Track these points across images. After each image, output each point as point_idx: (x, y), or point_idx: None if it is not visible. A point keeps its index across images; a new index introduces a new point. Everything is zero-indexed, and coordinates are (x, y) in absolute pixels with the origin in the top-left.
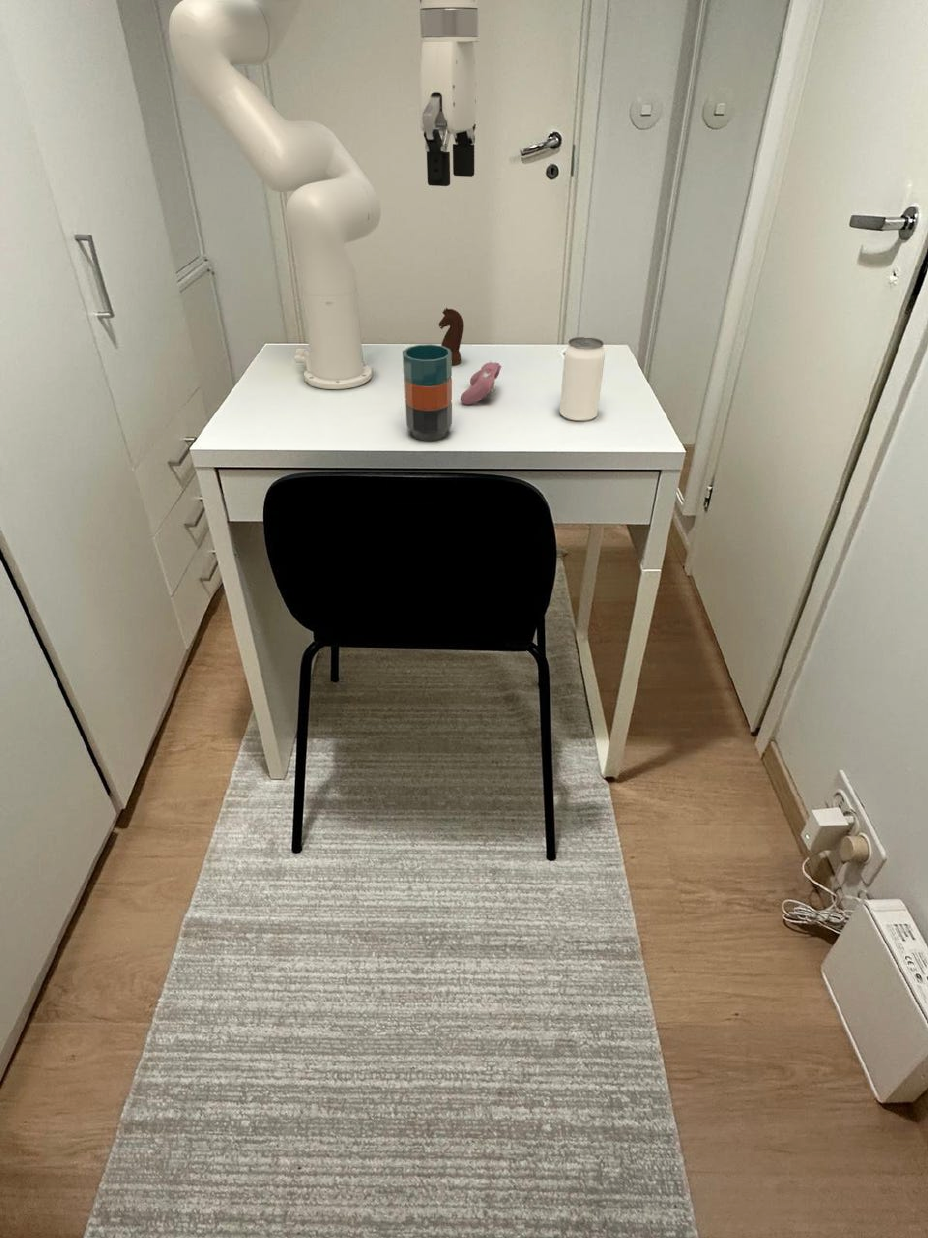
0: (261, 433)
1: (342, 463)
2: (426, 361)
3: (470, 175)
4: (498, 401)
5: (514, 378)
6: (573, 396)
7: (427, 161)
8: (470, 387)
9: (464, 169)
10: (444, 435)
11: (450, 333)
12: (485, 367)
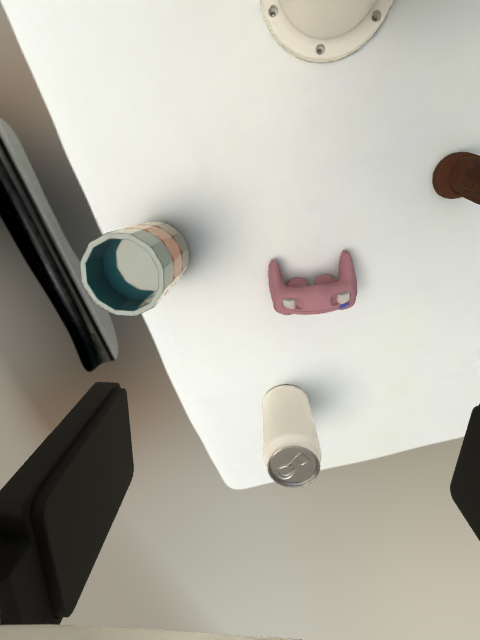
0: None
1: (35, 175)
2: (86, 289)
3: (450, 486)
4: None
5: (393, 303)
6: (263, 417)
7: (35, 452)
8: (274, 278)
9: (474, 480)
10: None
11: (473, 180)
12: (306, 298)
